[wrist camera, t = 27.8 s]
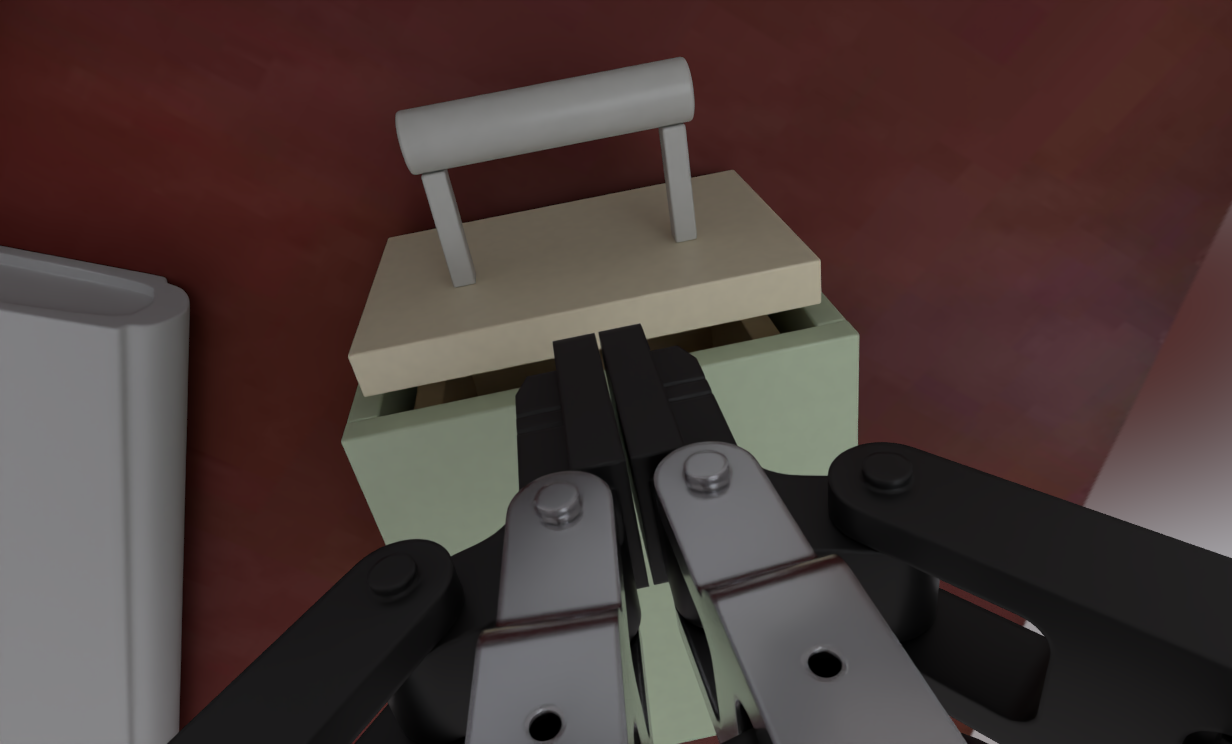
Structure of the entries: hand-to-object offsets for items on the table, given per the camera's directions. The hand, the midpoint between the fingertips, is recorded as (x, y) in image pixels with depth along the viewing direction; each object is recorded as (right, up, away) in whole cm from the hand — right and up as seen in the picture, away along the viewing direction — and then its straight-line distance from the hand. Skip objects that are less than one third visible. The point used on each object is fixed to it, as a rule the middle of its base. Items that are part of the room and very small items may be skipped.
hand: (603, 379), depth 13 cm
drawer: (-1, +2, +14) cm, 14 cm away
